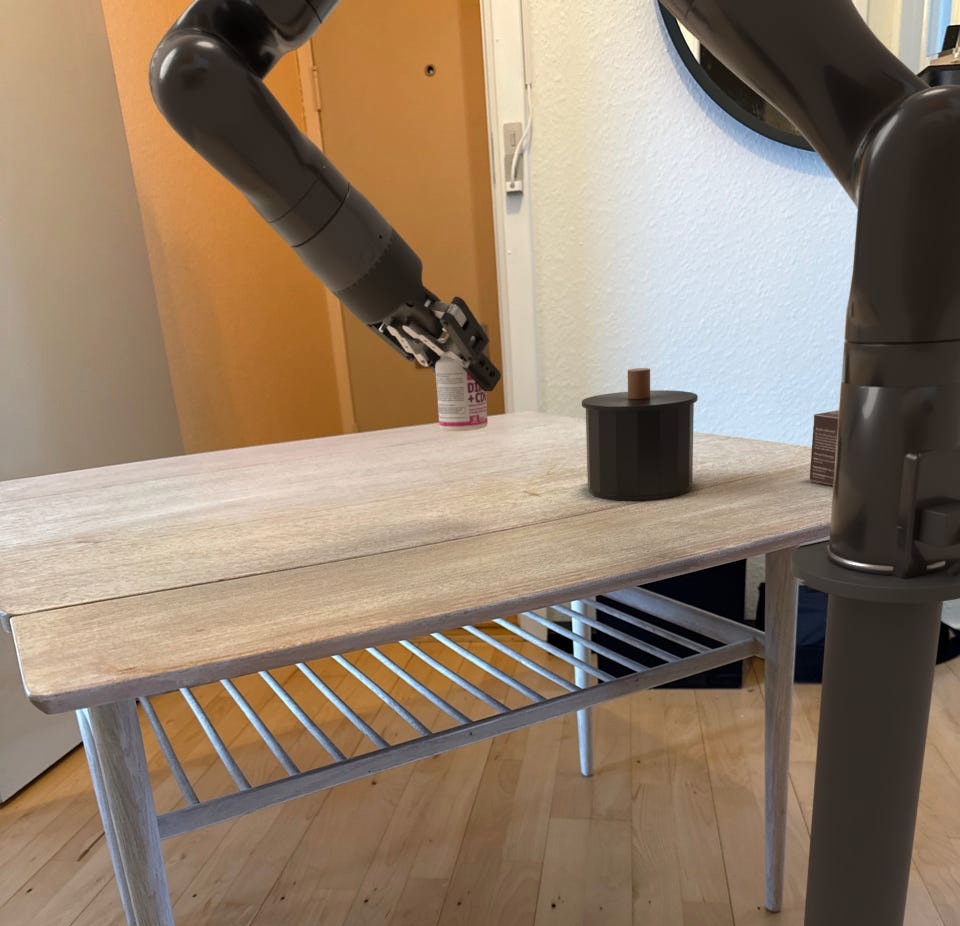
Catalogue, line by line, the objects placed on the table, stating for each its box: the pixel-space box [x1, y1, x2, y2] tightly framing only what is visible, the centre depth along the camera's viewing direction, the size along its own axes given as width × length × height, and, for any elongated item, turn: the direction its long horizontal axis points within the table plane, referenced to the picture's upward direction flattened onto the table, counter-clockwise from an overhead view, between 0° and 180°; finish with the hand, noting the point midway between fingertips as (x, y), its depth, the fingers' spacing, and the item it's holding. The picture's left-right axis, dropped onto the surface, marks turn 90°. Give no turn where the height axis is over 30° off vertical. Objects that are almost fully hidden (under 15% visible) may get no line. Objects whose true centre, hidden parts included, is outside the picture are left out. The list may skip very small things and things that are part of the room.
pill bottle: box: [434, 337, 489, 432], centre depth 88 cm, size 5×5×8 cm
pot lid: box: [581, 367, 699, 411], centre depth 99 cm, size 12×12×4 cm
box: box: [809, 409, 839, 486], centre depth 98 cm, size 6×6×7 cm
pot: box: [585, 403, 695, 502], centre depth 101 cm, size 11×11×10 cm
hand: (476, 382), depth 89 cm, fingers closed on pill bottle, 4 cm apart
